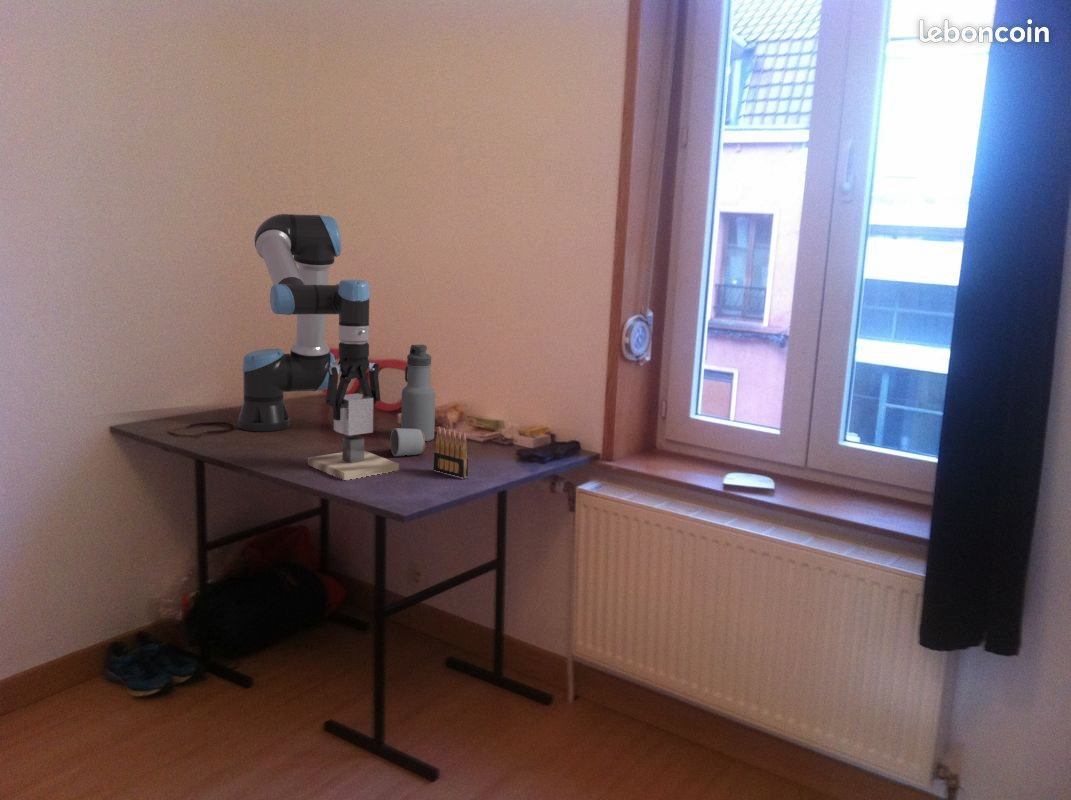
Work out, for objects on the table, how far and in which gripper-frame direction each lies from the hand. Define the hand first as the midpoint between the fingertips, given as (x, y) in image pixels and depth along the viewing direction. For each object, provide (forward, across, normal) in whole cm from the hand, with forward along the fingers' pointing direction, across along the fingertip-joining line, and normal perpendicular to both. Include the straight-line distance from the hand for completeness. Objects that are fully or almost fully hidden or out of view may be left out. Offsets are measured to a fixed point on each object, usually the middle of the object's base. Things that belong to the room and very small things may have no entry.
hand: (353, 430), depth 235 cm
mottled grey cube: (0, 0, 0) cm, 0 cm away
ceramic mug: (+10, +20, +5) cm, 23 cm away
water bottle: (+10, +33, +18) cm, 39 cm away
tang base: (+10, 0, 0) cm, 10 cm away
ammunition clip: (+10, +17, -19) cm, 27 cm away
